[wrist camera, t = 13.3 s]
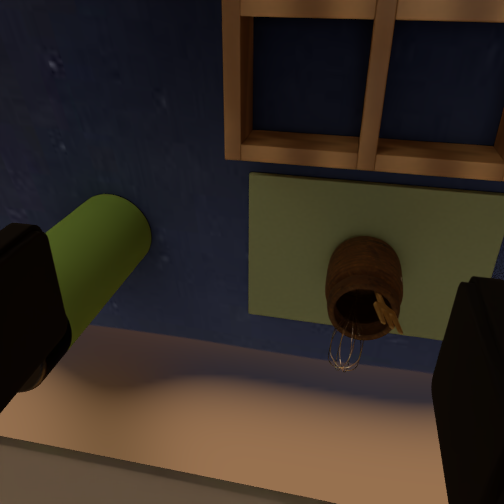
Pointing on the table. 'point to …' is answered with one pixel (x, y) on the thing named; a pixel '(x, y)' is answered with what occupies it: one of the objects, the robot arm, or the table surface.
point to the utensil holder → (363, 290)
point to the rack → (369, 144)
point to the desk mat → (374, 225)
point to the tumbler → (92, 264)
